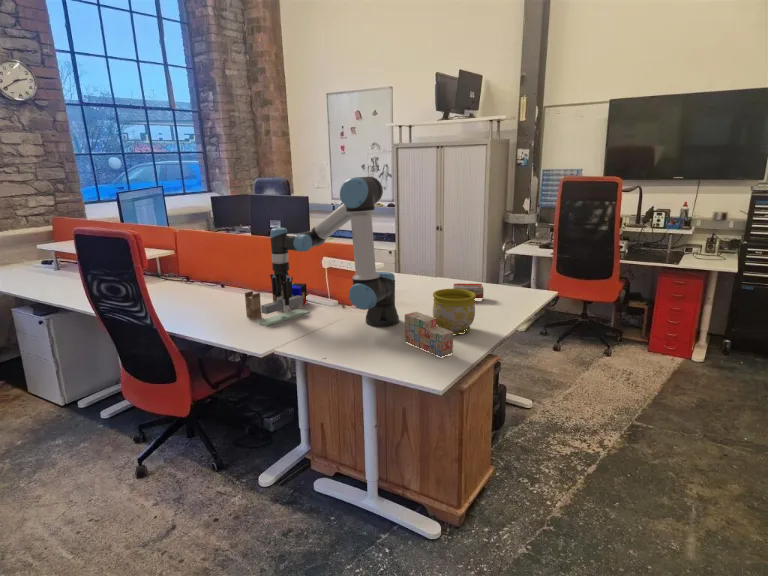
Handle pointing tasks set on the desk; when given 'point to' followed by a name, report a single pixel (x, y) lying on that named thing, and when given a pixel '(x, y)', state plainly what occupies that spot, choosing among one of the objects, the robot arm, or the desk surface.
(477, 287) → the medicine box
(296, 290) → the puzzle toy
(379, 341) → the desk surface
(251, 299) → the stand
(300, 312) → the mat
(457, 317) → the flowerpot
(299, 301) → the rail
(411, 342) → the stack of blocks
